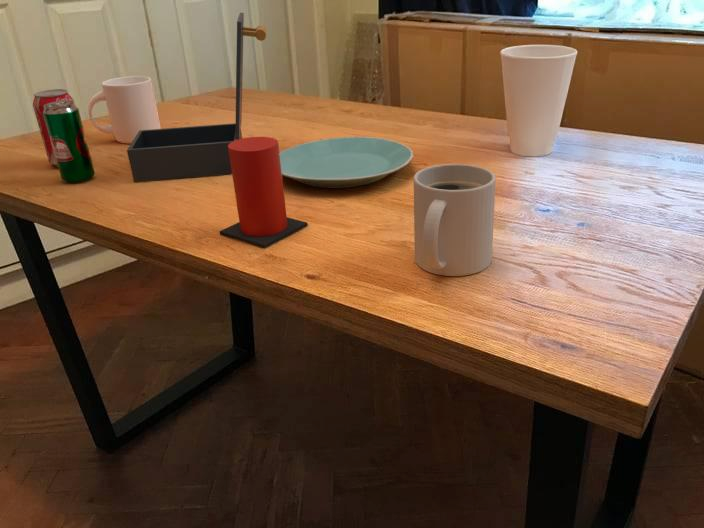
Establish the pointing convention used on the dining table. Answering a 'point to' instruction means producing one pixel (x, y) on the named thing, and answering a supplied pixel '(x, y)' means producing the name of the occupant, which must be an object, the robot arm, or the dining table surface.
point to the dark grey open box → (181, 152)
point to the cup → (535, 95)
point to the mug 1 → (127, 107)
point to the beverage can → (38, 106)
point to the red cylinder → (258, 185)
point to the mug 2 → (454, 218)
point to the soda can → (68, 141)
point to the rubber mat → (263, 241)
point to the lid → (242, 31)
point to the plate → (344, 161)
